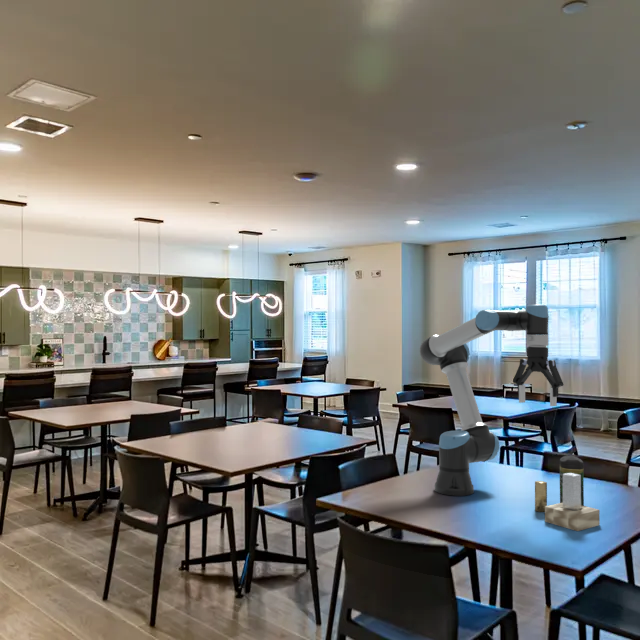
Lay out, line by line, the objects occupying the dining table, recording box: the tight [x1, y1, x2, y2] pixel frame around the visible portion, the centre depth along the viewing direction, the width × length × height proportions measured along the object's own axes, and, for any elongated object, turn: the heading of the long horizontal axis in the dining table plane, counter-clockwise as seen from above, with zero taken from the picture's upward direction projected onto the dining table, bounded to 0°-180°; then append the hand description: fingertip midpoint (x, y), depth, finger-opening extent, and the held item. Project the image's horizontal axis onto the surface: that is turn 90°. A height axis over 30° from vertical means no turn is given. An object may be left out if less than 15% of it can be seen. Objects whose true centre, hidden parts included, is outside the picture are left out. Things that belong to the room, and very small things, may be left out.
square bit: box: [563, 473, 581, 511], centre depth 203 cm, size 4×4×14 cm
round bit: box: [534, 480, 548, 513], centre depth 218 cm, size 4×4×10 cm
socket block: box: [544, 502, 601, 532], centre depth 203 cm, size 12×12×5 cm
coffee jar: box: [559, 455, 585, 506], centre depth 221 cm, size 10×8×19 cm
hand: (537, 404), depth 227 cm, fingers open, 13 cm apart
